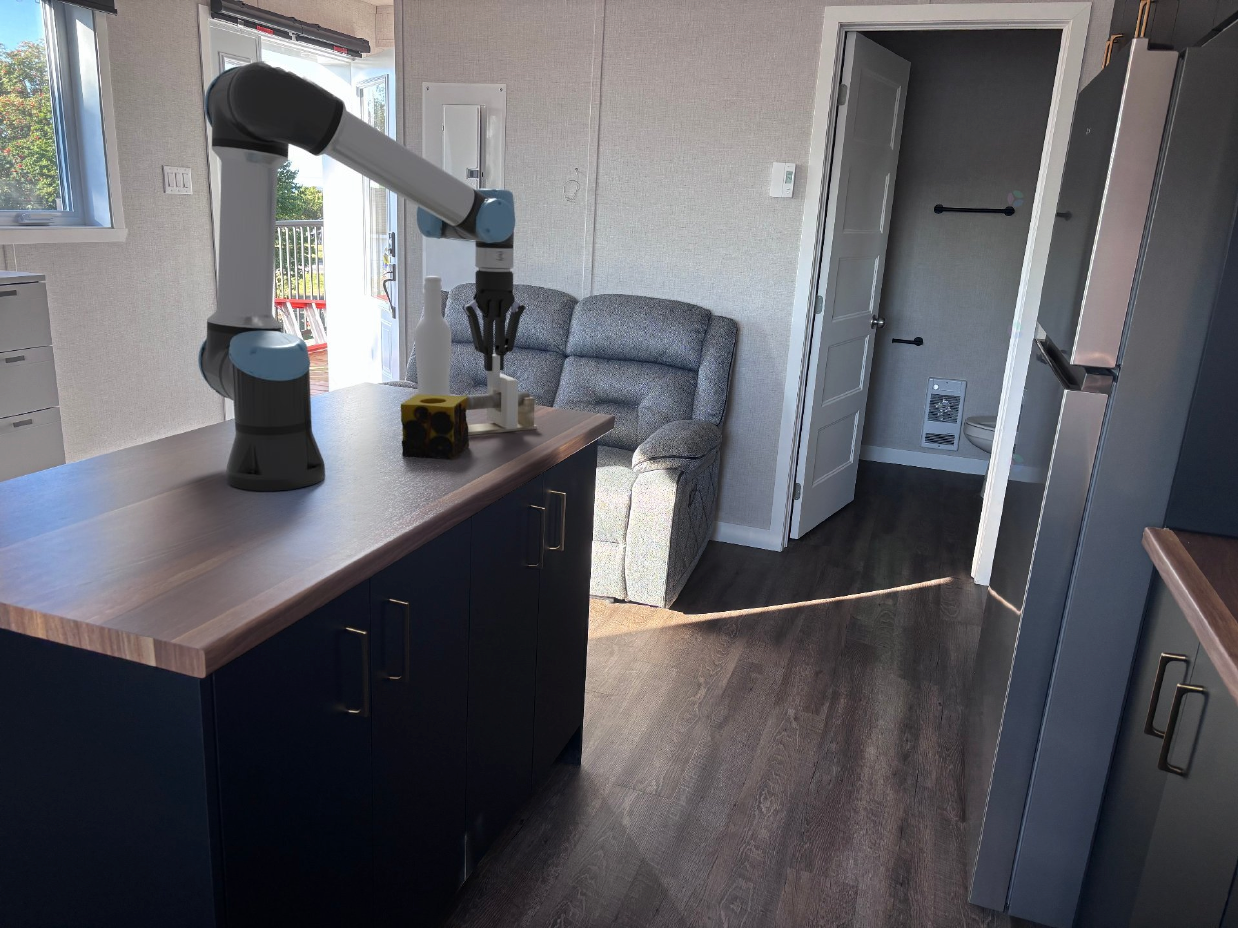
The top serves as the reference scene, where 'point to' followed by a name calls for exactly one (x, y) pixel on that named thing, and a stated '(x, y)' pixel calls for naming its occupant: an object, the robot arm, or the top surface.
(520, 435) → the top surface
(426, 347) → the bottle
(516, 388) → the upright white plank
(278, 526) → the top surface
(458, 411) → the yellow cube with hole
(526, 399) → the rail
